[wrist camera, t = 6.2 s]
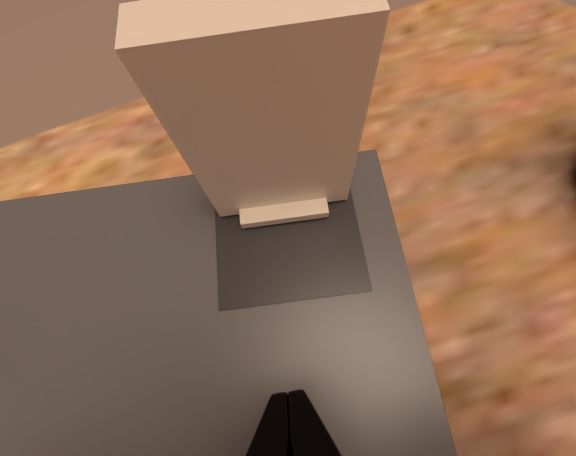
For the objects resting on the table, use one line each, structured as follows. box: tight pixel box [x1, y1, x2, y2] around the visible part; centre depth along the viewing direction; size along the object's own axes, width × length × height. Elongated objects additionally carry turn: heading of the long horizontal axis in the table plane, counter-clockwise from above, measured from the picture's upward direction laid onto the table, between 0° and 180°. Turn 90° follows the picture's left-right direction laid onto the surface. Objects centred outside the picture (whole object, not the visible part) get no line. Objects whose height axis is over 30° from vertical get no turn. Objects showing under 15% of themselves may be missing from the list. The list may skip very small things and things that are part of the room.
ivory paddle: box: [115, 0, 390, 229], centre depth 12 cm, size 3×6×9 cm, turn 97°
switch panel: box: [0, 150, 457, 456], centre depth 15 cm, size 14×26×4 cm, turn 97°
